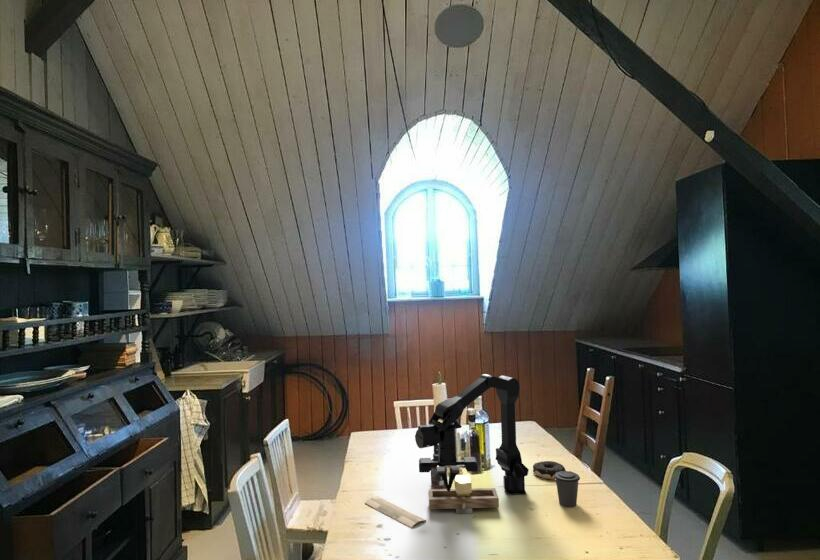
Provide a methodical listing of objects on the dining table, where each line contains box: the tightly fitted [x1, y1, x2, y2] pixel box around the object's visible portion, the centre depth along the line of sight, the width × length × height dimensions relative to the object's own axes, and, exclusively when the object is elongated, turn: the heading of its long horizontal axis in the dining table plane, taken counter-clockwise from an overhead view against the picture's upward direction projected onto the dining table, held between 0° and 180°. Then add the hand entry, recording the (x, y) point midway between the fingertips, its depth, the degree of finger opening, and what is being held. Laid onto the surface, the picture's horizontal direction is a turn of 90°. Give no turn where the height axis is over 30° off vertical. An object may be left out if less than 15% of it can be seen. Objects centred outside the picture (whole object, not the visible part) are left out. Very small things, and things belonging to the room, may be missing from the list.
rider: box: [453, 474, 473, 497], centre depth 164 cm, size 5×7×6 cm
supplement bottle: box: [430, 453, 448, 489], centre depth 182 cm, size 6×6×11 cm
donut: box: [532, 460, 567, 481], centre depth 189 cm, size 11×12×4 cm
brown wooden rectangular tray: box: [428, 487, 500, 515], centre depth 164 cm, size 22×9×5 cm, turn 89°
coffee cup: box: [554, 470, 581, 509], centre depth 164 cm, size 8×8×10 cm
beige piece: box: [364, 496, 427, 529], centre depth 162 cm, size 24×7×2 cm, turn 42°
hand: (448, 490), depth 164 cm, fingers closed
